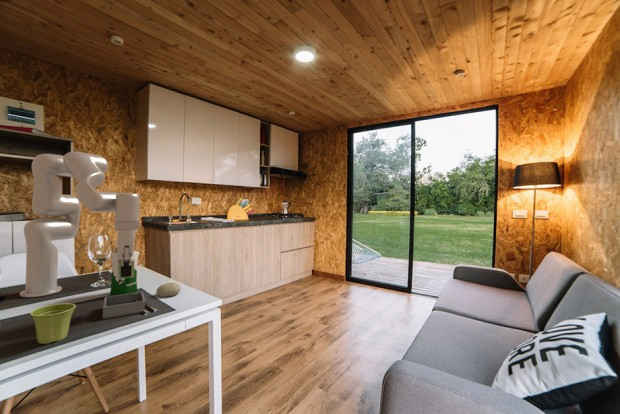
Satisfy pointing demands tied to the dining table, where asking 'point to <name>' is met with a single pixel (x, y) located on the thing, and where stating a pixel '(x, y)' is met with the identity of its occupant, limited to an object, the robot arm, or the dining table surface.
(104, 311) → the tray
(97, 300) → the dining table surface
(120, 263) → the olive block
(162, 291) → the sea urchin shell
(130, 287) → the milk carton
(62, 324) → the plant pot
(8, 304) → the dining table surface
